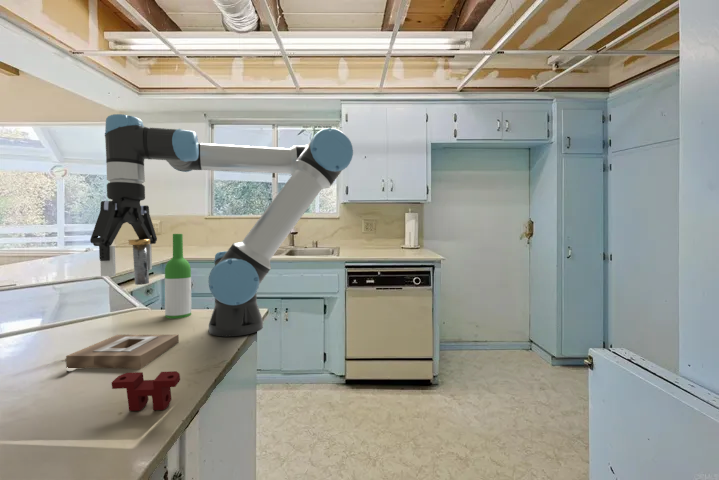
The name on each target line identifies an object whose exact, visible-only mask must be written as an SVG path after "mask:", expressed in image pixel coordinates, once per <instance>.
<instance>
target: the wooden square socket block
mask: <svg viewBox="0 0 719 480" xmlns="http://www.w3.org/2000/svg"><path fill="white" fill-rule="evenodd" d="M179 340H180V339H179V334H178V333H177V334H116V335H113V336H110V337H109V338H106V339H104V340H101V341H99V342H97V343H94V344H91V345H89V346H86V347H84V348H82V349H79V350H77V351H75V352H73V353H70V354H68V355H66V356H65V362H66V363H65V368H67V367H68V368H84V369H86V368H87V369H89V368H91V369H93V368H95V369H137V370H138V369H140V370H142V369H143V368H144V367H145V366H147V365H148V364H150V363H151V362H152V361H154V360H156V359H157V358H158V357H160V356H161V355H162V354H164V353H166V352H167V351H168V350H170V349H171V348H174V347H175V345H177V344H179V342H180V341H179Z"/></svg>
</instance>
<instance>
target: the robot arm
mask: <svg viewBox="0 0 719 480" xmlns="http://www.w3.org/2000/svg"><path fill="white" fill-rule="evenodd" d="M104 131H105V132H104V139H105V157H106V160H105V163H106V180H107V181H108V183H107V184H106V198H107V199H109V200H102V201H100V211H99V214H98V217H97V219H96V222H95V226H94V228H93V230H92V234H91V237H90V243H91V244H93V246H94V247H98V249H99V250H98V251H99V253H98V254H99V255H98V256H99V261H100V264H99V265H100V277H116V273H117V272H116V271H117V269H116V246H115V245H113V243H114V242H115V239H116V237H117V235H118V234H119V232H120V230H121V228H122V227H123V225H124V224H126V223H127V224H129V225H131V227H132V228H133V230H134V232H135V234H136V237H138V238H137V239H150V244H147V257H148V271H149V270H152V269H153V263H152V262H153V261H152V260H153V259H152V258H153V257H152V245H154V244H156V243H157V241H158V237H157V235H156V234H157V233H156V231H155V226H154V224H153V221H152V218H151V214H150V208H149V205H141V201H144V200H145V199H146V187H145V185H144V183H145V182H146V181H145V180H146V179H145V160H158V161H166V162H167V163H168V164H169V165H170V167H171V168H173V169H175V171H179V172H183V173H188V172H192V171H215V172H216V171H219V172H241V173H243V172H244V173H262V174H263V173H267V174H287V175H289V174H290V175H291V176H290V177H289V178H288V180H287V182H285V184H284V185H283V187H282V188H281V189H280V191H279V192H278V193H277V195H276V196H275V198H274V199H273V200H272V201H271V202H270V204H269V205H268V207H267V208H266V209H265V210H264V212H263V213H262V215H261V216H260V217H259V219H258V220H257V221H256V222H255V224H254V225H253V227H252V228H251V229H250V230H249V232H248V233H247V235H246V236H245V237H244V238H243V239H242V241H237V242H233V243H232V245H231V246H230V247H229V248H228V249H227V250H224V251H218V252H217V253H215V255H214V260H213V264H214V266H213V267H212V268H211V271H210V272H209V275H208V280H207V282H208V288H209V291H210V293H211V295H212V297H214V307H213V311H212V314H211V316H210V321H209V323H208V333H209V334H210V335H213V336H217V337H239V336H246V335H251V334H255V333H257V332H260V331H261V330H262V329H263V328H264V320H263V317H262V313H261V312H260V309H259V305H258V302H257V300H258V299H257V298H258V297H257V294H258V293H257V292H258V289H259V286H260V284H261V283H262V282H263V280H264V279H265V278H266V276H267V274H268V273H269V272H270V270H271V269H272V266H271V259H273V256H274V255H275V254H276V253H277V251H278V250H279V248H280V247H281V246H282V244H283V243H284V241H286V239H287V237H288V236H289V235H290V233H291V231H292V230H293V229H294V228H295V226H296V225H297V224H298V223H299V221H300V220H301V218H302V217H303V216H304V214H305V213H306V212H307V210H308V208H310V206H311V204H312V203H313V202H314V201H315V199H316V198H317V196H318V195H319V193H320V192H321V191H322V190H324V189H329V188H330V187H331V186H332V185H333V183H334V182H335V181H336V179H337V178H338V177H339V175H340V174H341V173H342V171H344V170H345V169H346V168H348V167H349V165H350V164H351V162H352V159H353V155H354V150H353V149H354V148H353V145H352V144H353V143H352V142H351V140H350V137H348V136H347V134H345V133H344V132H343V131H341V129H340V130H339V129H338V128H333V127H325V128H323V129H320V130H319V131H318V132H316V133H315V134H313V136H312V137H311V140H310V141H309V142H308V144H305V145H296V144H295V145H292V146H291V147H290V148H289V147H287V148H285V147H270V146H256V145H255V146H254V145H252V146H250V145H239V144H238V145H235V144H220V143H219V144H218V143H205V142H204V143H203V142H201V143H199V139H198V135H197V133H196V132H195V131H194V130H188V129H187V130H186V129H183V128H165V127H164V128H161V127H148V126H145V125H144V122H143V120H141V119H140V118H139V117H136V116H133V115H127V114H121V113H119V114H118V113H117V114H115V113H114V114H110V115H108V116H107V117H106V119H105V130H104Z"/></svg>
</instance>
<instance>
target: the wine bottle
mask: <svg viewBox="0 0 719 480" xmlns="http://www.w3.org/2000/svg"><path fill="white" fill-rule="evenodd" d="M183 237H184V235H183V233H173V234H172V258H171V259H170V260H168V261H167V263H166V265H165V268H164V315H165V318H167V319H183V318H189V316H191V315H192V271H191V270H192V269H191V264H190V263H189V261H188V260H187V259H186V258H184V251H183V250H184V248H183V247H184V244H183V243H184V242H183V239H184V238H183Z"/></svg>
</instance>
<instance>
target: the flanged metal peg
mask: <svg viewBox="0 0 719 480" xmlns="http://www.w3.org/2000/svg"><path fill="white" fill-rule="evenodd" d="M147 244H150V239H139V238H133V239H128V245H129V246H132V252H133V253H132V257H133V272H134V285H137V286H138V285H147V284H149V283H150V280H149V279H150V276H149V275H150V274H149V270H148V257H147Z"/></svg>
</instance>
